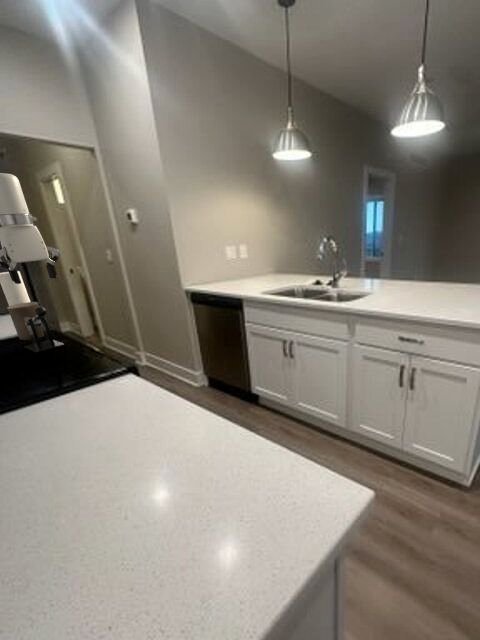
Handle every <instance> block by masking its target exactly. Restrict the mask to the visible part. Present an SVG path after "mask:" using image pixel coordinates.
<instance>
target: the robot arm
mask: <svg viewBox="0 0 480 640" xmlns="http://www.w3.org/2000/svg"><path fill="white" fill-rule="evenodd" d="M37 221H38V219H37V217H36V216H33V215H32V214H30V211H29V208H28V204H27V202H26V198H25V195H24V193H23V189H22V186H21V183H20V181H19V178H18V177H17V176H15V175H14V174H12V173H7V172H6V173H4V172H0V246H1V249H0V267H1V268H3V269H5V270H6V271H7V272H9V274H10V277H11V279H12V281H14V282H15V283H16V284H21V280H20V277H19V275H18V272H17V271H18V270H17V269H16V266H17V264H18V263H20V264H21V263H30V262H38V261H42V262H44V263H45V264H46V271H47V274H48V276H49V278H50V279H57V275H58V273H57V270H56V267H55V265H56V264H57V263H56V262H57V261H58V259H59V256H60V250H59V249H57V248H54V247H51V246H49V245H46V243H45V240H44V239H43V237H42V235H41V232H40V230H39V229H38V227H37V226H36V225H34V223H35V222H37ZM49 252H50V253H52V255H51V257H49ZM3 256H4V259H5V260H6V261H7V263H6V262H5V261H3V260H2V259H1V258H2V257H3Z"/></svg>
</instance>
